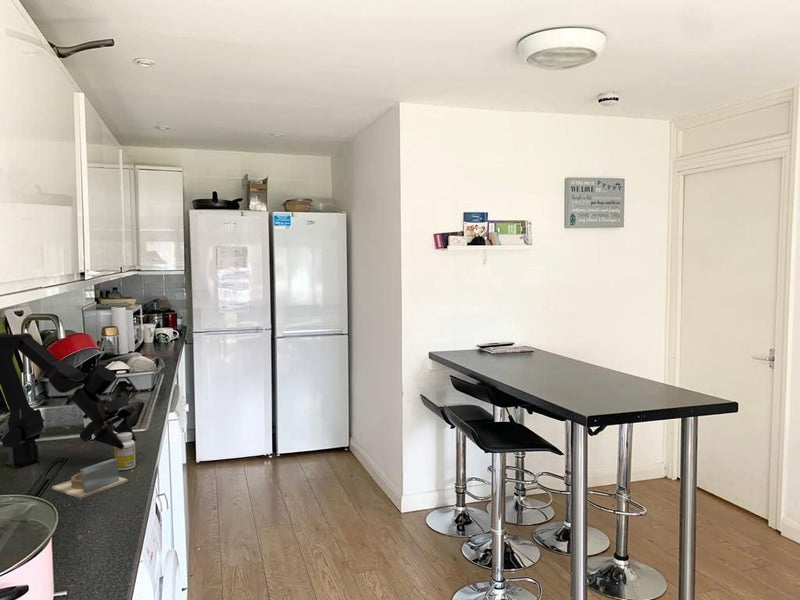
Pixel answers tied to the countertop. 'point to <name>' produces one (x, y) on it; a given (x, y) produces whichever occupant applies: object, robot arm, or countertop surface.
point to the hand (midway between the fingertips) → (129, 444)
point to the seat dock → (92, 480)
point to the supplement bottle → (125, 452)
